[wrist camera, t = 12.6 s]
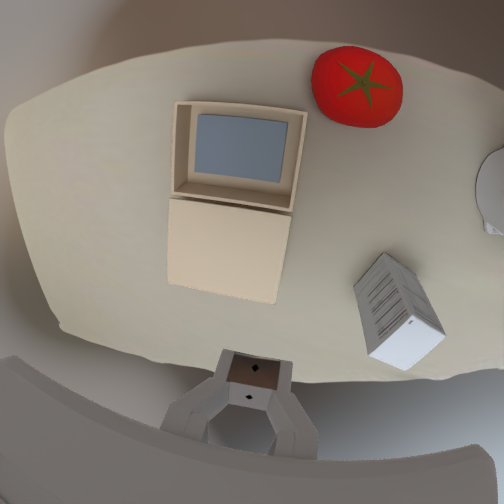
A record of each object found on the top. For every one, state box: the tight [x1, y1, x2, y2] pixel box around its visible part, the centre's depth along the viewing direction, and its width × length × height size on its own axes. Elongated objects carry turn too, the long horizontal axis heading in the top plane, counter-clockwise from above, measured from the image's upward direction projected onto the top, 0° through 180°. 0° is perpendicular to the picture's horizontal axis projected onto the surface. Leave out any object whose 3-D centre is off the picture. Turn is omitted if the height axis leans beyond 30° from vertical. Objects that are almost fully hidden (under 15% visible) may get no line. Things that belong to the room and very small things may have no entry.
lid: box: [168, 198, 292, 305], centre depth 42 cm, size 18×14×1 cm
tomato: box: [311, 46, 403, 128], centre depth 29 cm, size 11×12×10 cm
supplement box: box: [354, 253, 446, 371], centre depth 40 cm, size 10×9×17 cm
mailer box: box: [171, 101, 308, 212], centre depth 38 cm, size 18×14×6 cm
